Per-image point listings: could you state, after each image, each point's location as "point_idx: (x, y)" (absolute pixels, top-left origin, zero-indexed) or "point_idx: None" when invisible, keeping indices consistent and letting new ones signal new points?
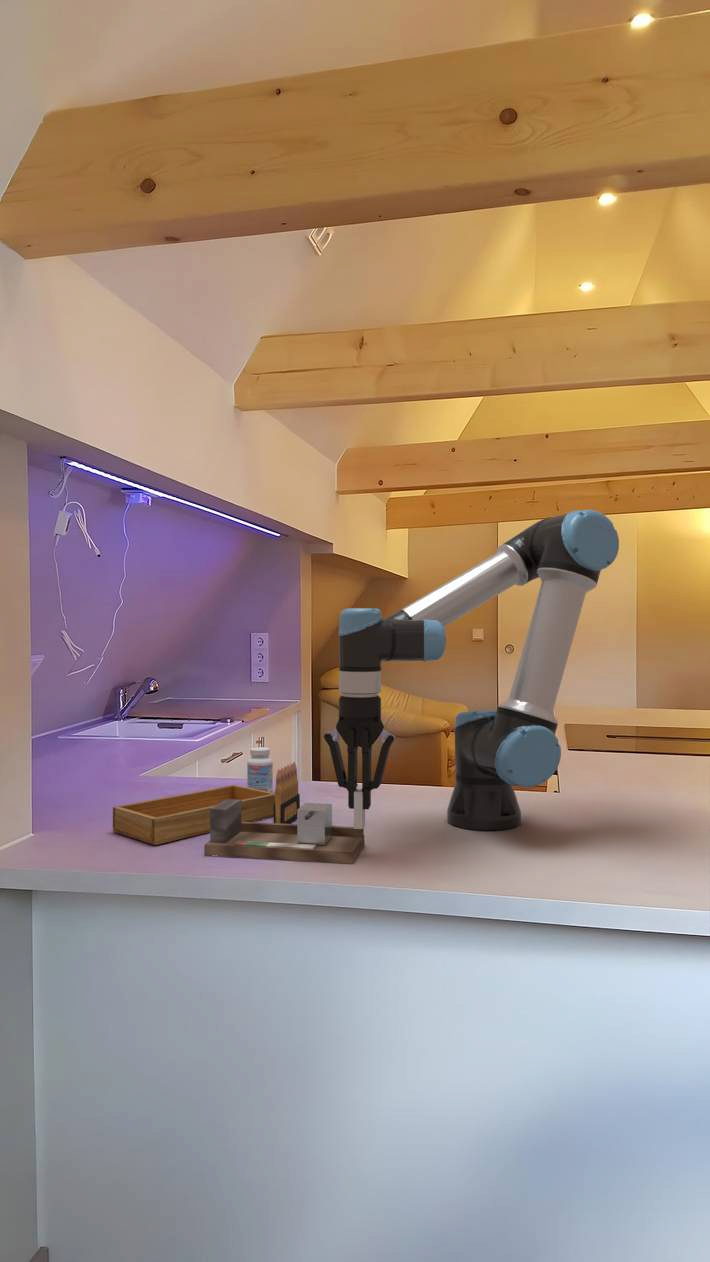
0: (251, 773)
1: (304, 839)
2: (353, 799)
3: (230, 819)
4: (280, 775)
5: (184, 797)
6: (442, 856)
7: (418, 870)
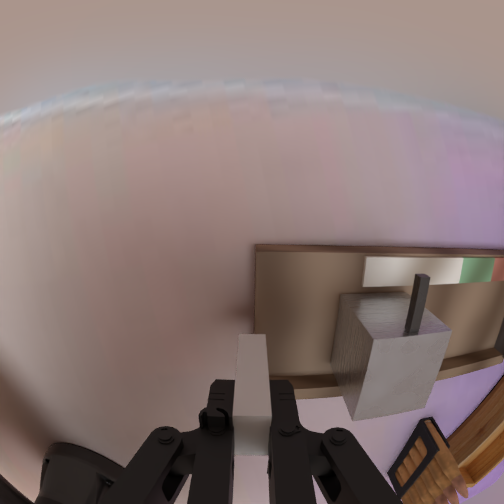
0: None
1: (395, 296)
2: (274, 403)
3: None
4: (460, 490)
5: None
6: (78, 324)
7: (96, 224)
